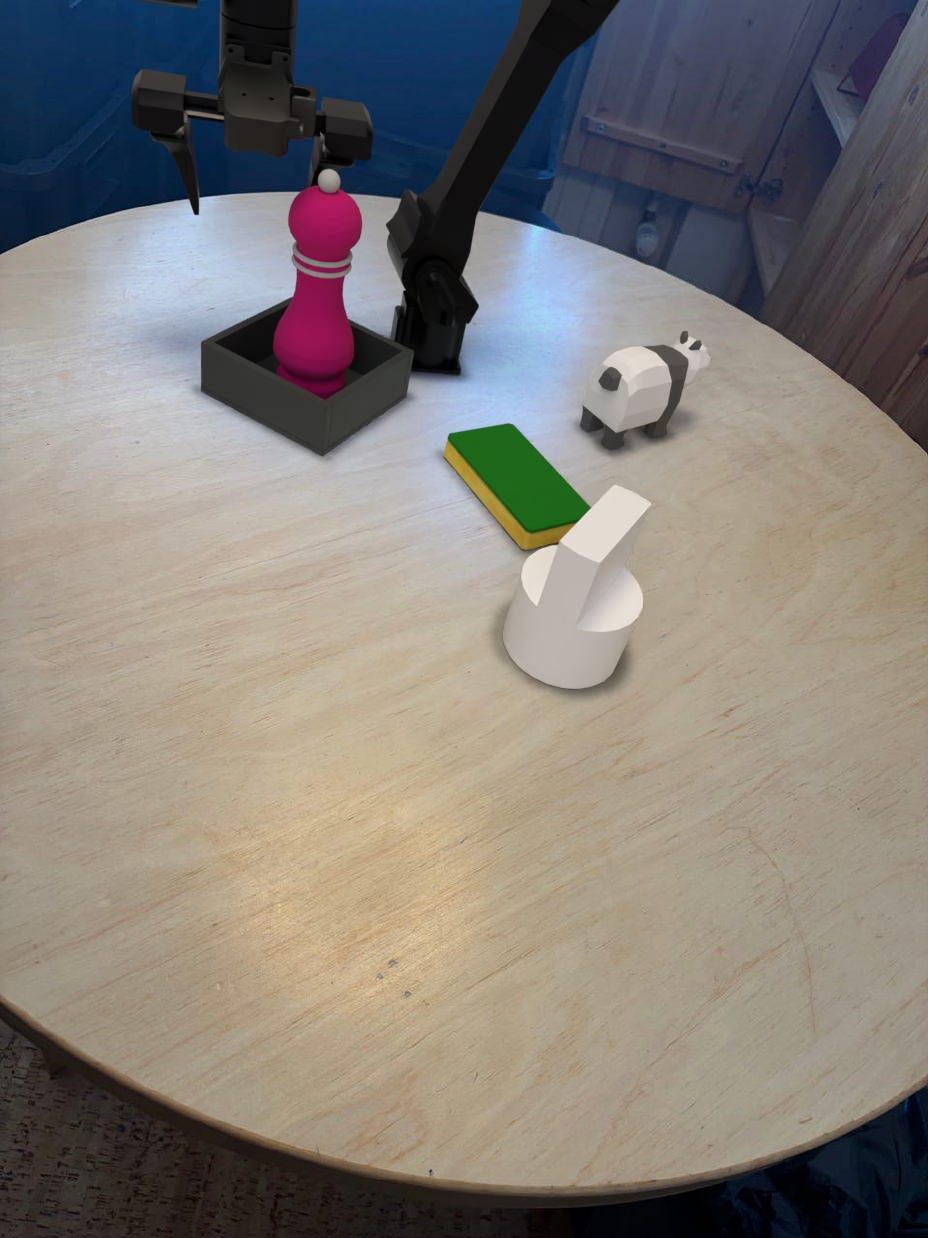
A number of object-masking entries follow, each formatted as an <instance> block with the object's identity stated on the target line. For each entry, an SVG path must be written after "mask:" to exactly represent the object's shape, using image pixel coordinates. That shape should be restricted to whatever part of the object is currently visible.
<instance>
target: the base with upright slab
mask: <svg viewBox="0 0 928 1238" xmlns="http://www.w3.org/2000/svg"><path fill="white" fill-rule="evenodd" d="M651 506H652V503H651V502H650V501H649V500H648V499H646V498H644V497H643V496H641V495H639V494H638V493H636V492H635V491H632V490H630V489H627V488H625V487H622V486H620V485H617V484H613V485H612V486H611V487H610V488H609V489H608V490H607V491H606V492H605V493H604V494H603V495H602V496H601V497H600V498H599V499H598V501H597V502H596V503H594V504H593V506H591V509H590V510H589V511H588V512H587V513H586V514H585V515H584V516H583V517H582V518H581V519H580V520H579V521H578V522H577V523H576V524H575V525H574V526H573V528H572V529H571V530H570V531H569V532H568V533H567V534H566V535H565V536H564V537H563V538H562V539H561V540H560V542H558V544H555V545H547V546H546V547H542V548H541V549H537V550H536V551H534V552H533V553H532V554H531V555H529V556H528V557H527V559H526V560H525V562H524V563H523V565H522V568H521V570H520V573H519V577H518V580H517V583H516V586H515V589H514V593H513V596H512V599H511V601H510V605H509V609H508V612H507V615H506V617H505V621H504V625H503V629H502V639H503V645H504V648H505V649H506V652H507V653H508V655H509V657H510V659H511V660H512V661H513V662H514V663H515V664H516V665H517V666H518V668H519V669H521V671H523V672H525V673H526V674H528V676H530V677H531V678H533V679H535V680H537V681H540V682H542V683H544V684H546V685H549V686H552V687H553V686H554V687H557V688H561V689H572V690H573V689H574V690H581V689H586V688H593V687H595V686H597V685H599V684H601V683H603V682H605V681H606V680H607V679H608V678H609V677H610V676H611V675H613V673H614V671H615V669H616V667H617V665H618V663H619V661H620V658H621V656H622V654H623V652H624V650H625V647H626V645H627V643H628V641H629V639H630V636H631V634H632V632H633V631H634V630H633V629H634V627H635V626H636V624H637V621H638V619H639V617H640V615H641V613H642V610H643V608H644V606H643V605H644V595H643V591H642V589H641V586H640V584H639V582H638V581H637V580H636V578H635V576H634V575H633V573H631V572H630V571H629V569H628V568H626V566H627V563H628V562H629V559H630V557H631V554H632V552H633V549H634V548H635V545H636V542H637V540H638V537H639V535H640V534H641V531H642V528H643V526H644V523H645V520H646V518H647V516H648V514H649V511H650V509H651Z"/></svg>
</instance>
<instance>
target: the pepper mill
mask: <svg viewBox="0 0 928 1238" xmlns="http://www.w3.org/2000/svg"><path fill="white" fill-rule="evenodd" d="M318 184H319V186H312V187H309V188H306V187H305V188H304V189H302V190H301V191H300V192H299V193H297V194H296V195H295V197H294V198H293V200H292V202H291V204H290V206H289V211H288V214H287V215H288V216H287V217H288V218H287V226H288V229H289V232H290V234H291V236H292V238H293V239H294V240H295V242H294V243H293V244H292V246H291V247H292V248H291V249H292V255H291V263H292V265H293V266H294V267H295V268H296V280H295V288H294V292H293V295H292V297H293V298H292V301H291V302H290V304H289V306H288V308H287V309H286V311H285V313H284V314H283V316H282V318H281V319H280V321H279V323H278V326H277V328H276V331H275V335H274V342H273V351H274V354H275V356H276V358H277V360H278V361H279V363H280V364H279V366H278V368H277V375H278V376H280V377H282V378H284V379H286V380H288V381H290V382H291V383H293V384H295V385H297V386H299V387H301V388H303V389H305V390H307V391H309V392H311V393H313V394H315V395H317V396H319V397H320V398H322V399H324V400H326V399H328V398H329V397H331V396H332V395H334V394H336V393H337V392H339V391H340V390H342V389H343V388H344V387H345V374H344V371H345V370H346V369H348V367H349V366H350V365H351V363H352V361H353V357H354V339H353V334H352V329H351V326H350V323H349V320H350V319H349V318H348V314H347V311H346V307H345V303H344V302H345V300H344V283H345V278H346V276H347V275H348V274H349V273H351V271H352V261H353V259H354V256H353V252H352V249H353V248H354V247H355V246H356V245H357V244H358V243H359V241H360V239H361V236H362V231H363V218H362V213H361V209H360V207H359V205H358V203H357V202H356V200H355V199H354V197H352V196H351V195H349V193H347V192H345V191H344V190H342V189H340V186H341V177H340V175H339V174H338V171H337V172H336V171H334V170H331V169H326V170H323V171H322V172H321V173H320V175H319V177H318ZM348 319H349V320H348Z"/></svg>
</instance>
